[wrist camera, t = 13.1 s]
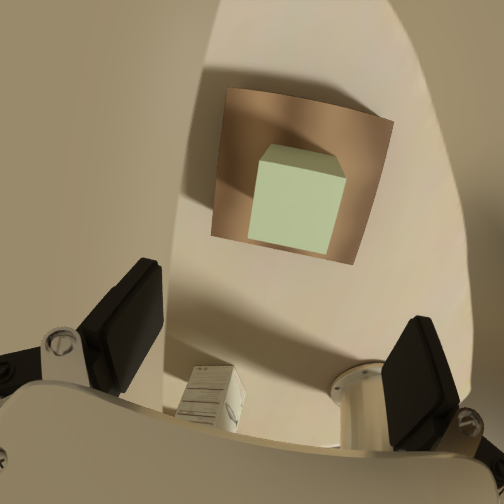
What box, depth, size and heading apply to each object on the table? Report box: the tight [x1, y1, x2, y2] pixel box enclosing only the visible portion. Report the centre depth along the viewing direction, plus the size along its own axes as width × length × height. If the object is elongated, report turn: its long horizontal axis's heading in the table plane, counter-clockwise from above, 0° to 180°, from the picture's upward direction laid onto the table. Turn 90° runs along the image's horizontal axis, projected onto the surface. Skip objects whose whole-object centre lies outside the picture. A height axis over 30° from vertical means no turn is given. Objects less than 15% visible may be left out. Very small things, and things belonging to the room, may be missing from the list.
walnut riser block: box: [211, 87, 394, 265], centre depth 28 cm, size 14×14×5 cm
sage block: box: [248, 143, 346, 254], centre depth 23 cm, size 6×6×7 cm
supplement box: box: [174, 366, 246, 433], centre depth 43 cm, size 7×7×13 cm
